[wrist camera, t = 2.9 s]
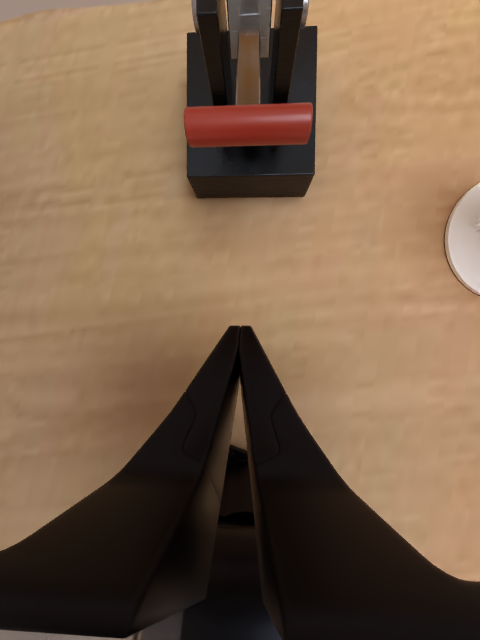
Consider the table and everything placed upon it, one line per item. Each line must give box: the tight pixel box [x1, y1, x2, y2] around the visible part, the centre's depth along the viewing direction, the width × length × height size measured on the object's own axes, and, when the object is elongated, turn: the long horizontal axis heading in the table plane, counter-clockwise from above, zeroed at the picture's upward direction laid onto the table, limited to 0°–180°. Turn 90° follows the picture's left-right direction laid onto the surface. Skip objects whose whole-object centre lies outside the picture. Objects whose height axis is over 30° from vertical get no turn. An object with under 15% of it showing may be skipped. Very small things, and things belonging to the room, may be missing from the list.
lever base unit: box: [187, 0, 317, 198], centre depth 16 cm, size 11×10×11 cm
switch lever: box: [184, 0, 313, 148], centre depth 12 cm, size 10×6×2 cm, turn 0°
